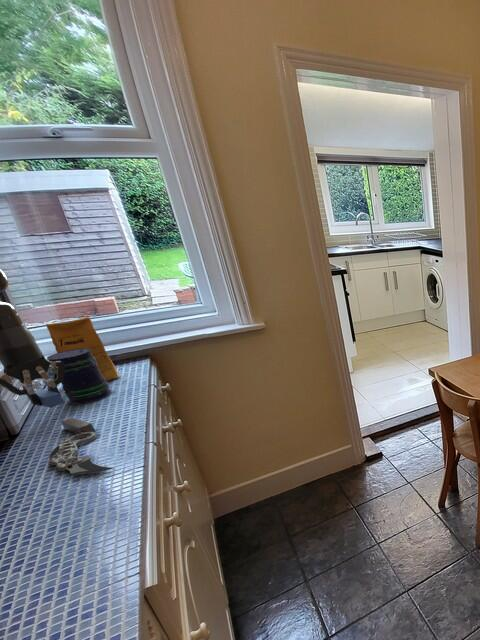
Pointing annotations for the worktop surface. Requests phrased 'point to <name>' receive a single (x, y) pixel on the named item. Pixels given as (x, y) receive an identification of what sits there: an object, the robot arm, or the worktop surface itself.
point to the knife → (68, 461)
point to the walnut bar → (77, 426)
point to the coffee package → (82, 343)
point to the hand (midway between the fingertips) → (48, 402)
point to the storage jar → (81, 376)
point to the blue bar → (49, 398)
